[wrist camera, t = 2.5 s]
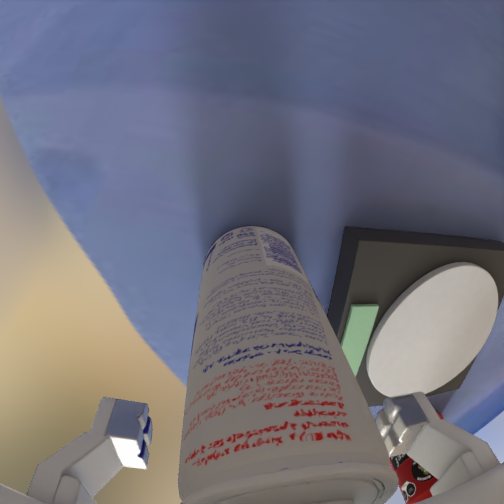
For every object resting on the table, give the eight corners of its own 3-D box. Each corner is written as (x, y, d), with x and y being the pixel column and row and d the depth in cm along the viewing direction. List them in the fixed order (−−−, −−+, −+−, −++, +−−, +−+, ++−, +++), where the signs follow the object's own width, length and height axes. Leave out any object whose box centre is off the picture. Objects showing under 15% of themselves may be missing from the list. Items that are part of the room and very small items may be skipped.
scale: (344, 226, 19) (363, 243, 16) (500, 240, 20) (523, 254, 17) (307, 391, 24) (315, 419, 21) (447, 373, 25) (461, 392, 23)
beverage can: (185, 269, 19) (132, 520, 5) (250, 203, 18) (315, 448, 4) (250, 322, 21) (280, 551, 7) (314, 265, 20) (430, 487, 6)
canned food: (431, 397, 27) (477, 475, 16) (445, 421, 29) (481, 486, 19) (371, 436, 28) (403, 518, 18) (393, 454, 31) (421, 522, 21)
